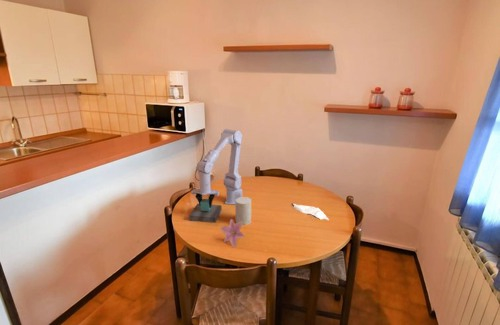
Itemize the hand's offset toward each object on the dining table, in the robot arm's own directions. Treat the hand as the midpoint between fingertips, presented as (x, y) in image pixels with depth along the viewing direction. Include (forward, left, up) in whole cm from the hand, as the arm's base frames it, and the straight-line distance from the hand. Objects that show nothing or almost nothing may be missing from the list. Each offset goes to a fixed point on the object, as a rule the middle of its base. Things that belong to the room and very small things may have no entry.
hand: (205, 206), depth 149 cm
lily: (-19, +22, -6) cm, 29 cm away
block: (0, 0, -2) cm, 2 cm away
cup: (-21, +3, -5) cm, 22 cm away
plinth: (0, 0, -5) cm, 5 cm away
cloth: (-57, -14, -6) cm, 59 cm away
